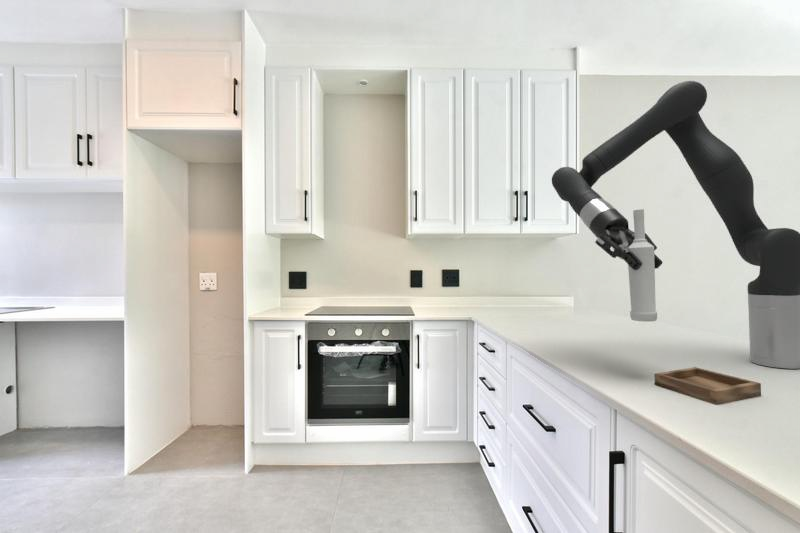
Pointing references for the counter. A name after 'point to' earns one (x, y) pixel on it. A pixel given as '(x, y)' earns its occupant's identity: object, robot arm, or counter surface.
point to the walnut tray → (708, 385)
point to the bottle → (642, 274)
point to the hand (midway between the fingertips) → (648, 266)
